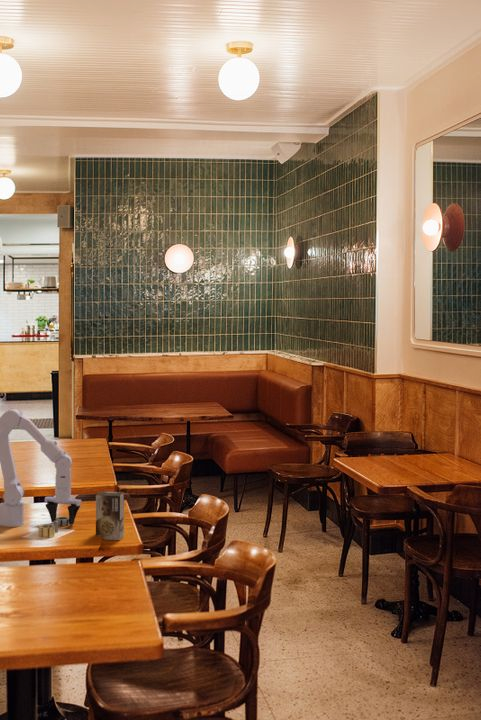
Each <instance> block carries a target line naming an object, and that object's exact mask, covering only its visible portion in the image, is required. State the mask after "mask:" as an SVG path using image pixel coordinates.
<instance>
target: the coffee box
mask: <svg viewBox="0 0 481 720" xmlns="http://www.w3.org/2000/svg"><path fill="white" fill-rule="evenodd" d="M124 527H125V492H124V491H102V490H101V491H99V492H98V493H97V494H96V495H95V537H103V538H102V540H105V541H106V540H109V541H110V540H111V541H120V540H122V539H123V538H124V535H125V531H124V530H125V528H124Z"/></svg>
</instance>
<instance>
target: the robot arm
mask: <svg viewBox="0 0 481 720" xmlns="http://www.w3.org/2000/svg"><path fill="white" fill-rule="evenodd" d="M16 427H17V430H23V431H26V432H27V434H29V436H31V437H32V438H33V439H34V440H35V441H36V443H38V444H39V445H40V451H41V452H42V453H43V454H44V455H45V456H46V458H48V460H49V461H50V462H51V463H53V464H54V467H55V469H56V471H55V473H56V474H55V491H54V496H50V495H49V496H48V495H47V496H45V497H44V503H45V507H46V509H47V512H48V513H49V517H50V521H51V523H52V524H54V521H55V518H56V517H57V511H58V505H59V504H61V505H68V506H67V510H68V517H69V525H68V526H71V525H73V524H75V520H76V516H77V514H78V512H79V510H80V508H81V506H82V499H77V498H74V497H73V498H72V468H71V467H72V463H73V460H72V459H73V458H72V457H71V456H70V454H69V453H67V451H66V450H63V449H62V448H61V447H60V446H59V444H58V443H59V442H58V441H57V440H54V439H52V438H51V439H49V438H47V437H46V436H45V435H44V434H43V433H42V431H41V430H40V429H39V428H38V427H37V425H35V423H34V422H33V421H32V420H31V419H30V418H29V417H28V416H27V415H26V414H24V413H22V410H20V409H19V408H16V407H11V408H9V409H8V410H7V411H5V412H4V413H3V414H2V415H1V416H0V469H1V473H2V476H3V477H2V478H3V488H4V493H3V497H2V499H3V502H1V503H0V526H3V527H7V528H8V527H9V528H15V527H18V528H19V527H21V526H24V523H25V522H24V521H25V518H24V517H25V515H24V514H25V513H24V511H25V510H24V509H25V507H24V506H25V504H24V503H25V501H24V500H23V499H22V498H23V496H24V495H25V489H24V487H23V485H21V482H20V479H19V478H18V474H17V468H16V465H15V460H14V456H13V451H12V446H11V441H10V437H9V435H10V433H11V432H12V431H13V429H14V428H16Z"/></svg>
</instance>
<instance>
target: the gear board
mask: <svg viewBox="0 0 481 720" xmlns="http://www.w3.org/2000/svg"><path fill="white" fill-rule="evenodd" d="M44 525H45V527H49V523H44ZM53 525H55V536H53V537H50V538H49V537H48V538H43V537H42V538H41V537H39V536H38V533H39V529H37V530H35V531H33V532H31V533H28V534H26V535H22V538H26V539H32V540H33V539H34V540H39V541H40V540H42V541H51V542H52V541H54V540H56V539H58V538H61V537H63V536H66V535H68V534H71V533H73V532H75V531H76V530H75V529H69V528H68V529H67V528H59V526H58V521H54V522H53Z"/></svg>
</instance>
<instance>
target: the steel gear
mask: <svg viewBox="0 0 481 720" xmlns="http://www.w3.org/2000/svg"><path fill="white" fill-rule="evenodd" d="M55 521H58V527H67V526H70V525H69V516H56V518H55Z"/></svg>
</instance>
